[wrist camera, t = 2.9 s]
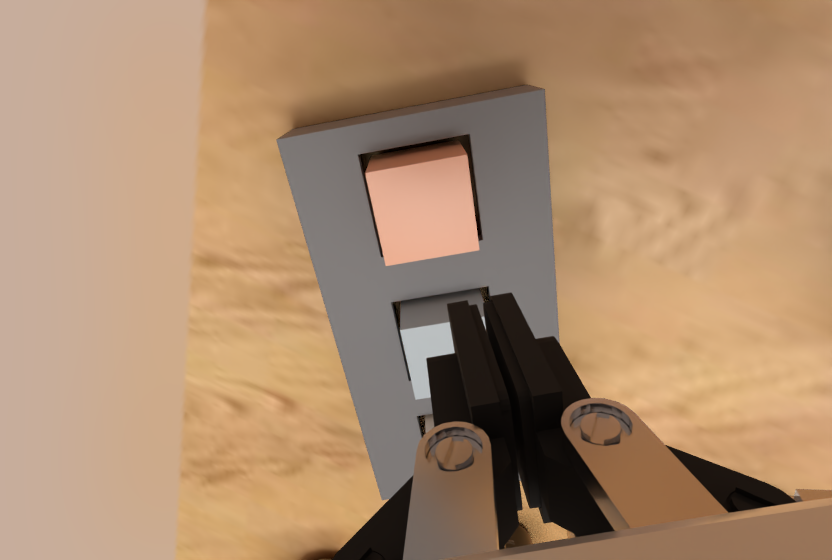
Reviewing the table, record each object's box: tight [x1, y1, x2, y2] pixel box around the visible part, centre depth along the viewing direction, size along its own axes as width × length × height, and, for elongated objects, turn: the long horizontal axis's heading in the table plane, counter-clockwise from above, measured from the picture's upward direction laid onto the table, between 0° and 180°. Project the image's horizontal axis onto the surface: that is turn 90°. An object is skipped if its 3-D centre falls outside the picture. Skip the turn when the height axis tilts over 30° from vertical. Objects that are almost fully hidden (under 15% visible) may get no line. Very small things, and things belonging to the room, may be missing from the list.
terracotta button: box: [365, 140, 479, 266], centre depth 26 cm, size 5×5×4 cm
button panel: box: [277, 85, 559, 500], centre depth 32 cm, size 14×27×4 cm, turn 10°
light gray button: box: [400, 288, 486, 400], centre depth 30 cm, size 5×5×4 cm
